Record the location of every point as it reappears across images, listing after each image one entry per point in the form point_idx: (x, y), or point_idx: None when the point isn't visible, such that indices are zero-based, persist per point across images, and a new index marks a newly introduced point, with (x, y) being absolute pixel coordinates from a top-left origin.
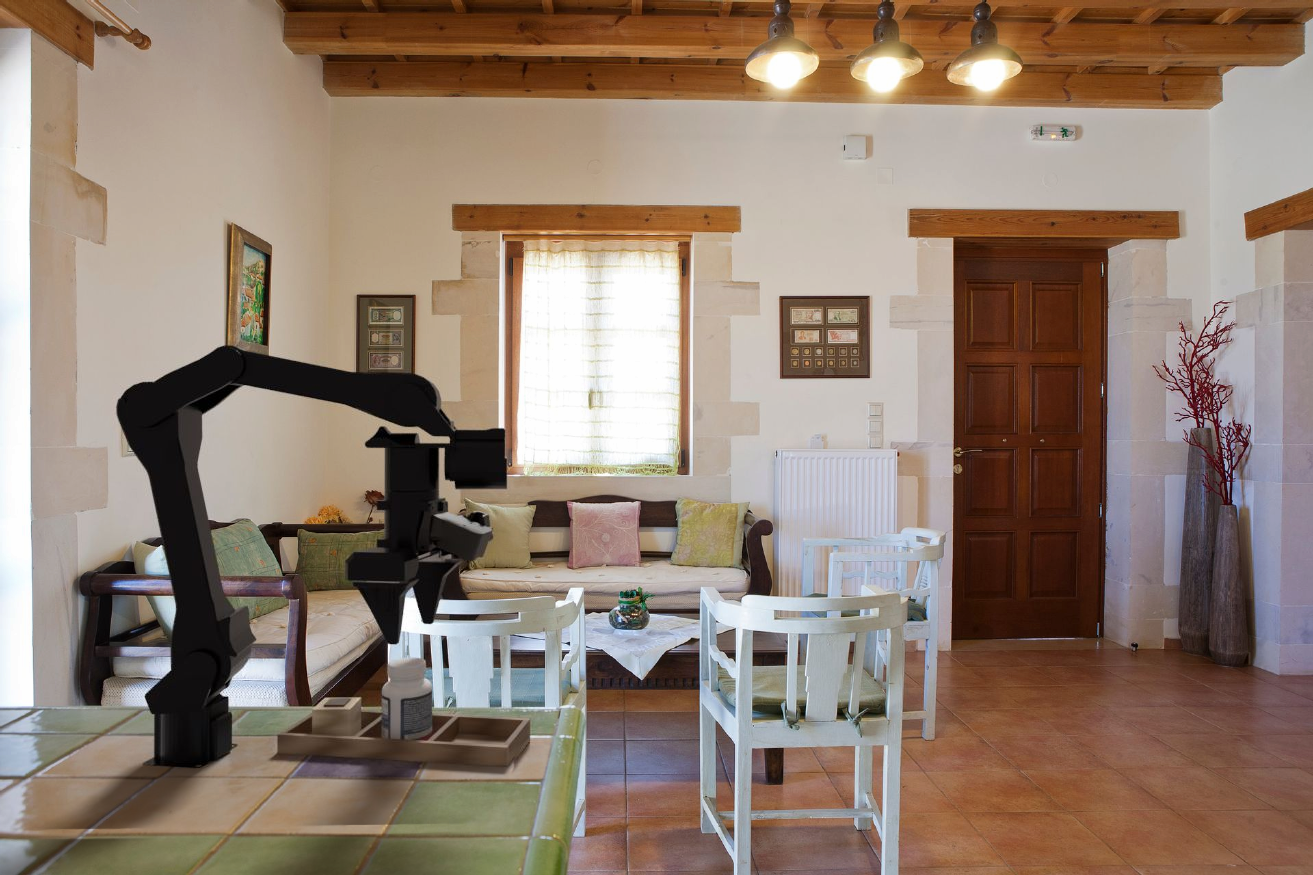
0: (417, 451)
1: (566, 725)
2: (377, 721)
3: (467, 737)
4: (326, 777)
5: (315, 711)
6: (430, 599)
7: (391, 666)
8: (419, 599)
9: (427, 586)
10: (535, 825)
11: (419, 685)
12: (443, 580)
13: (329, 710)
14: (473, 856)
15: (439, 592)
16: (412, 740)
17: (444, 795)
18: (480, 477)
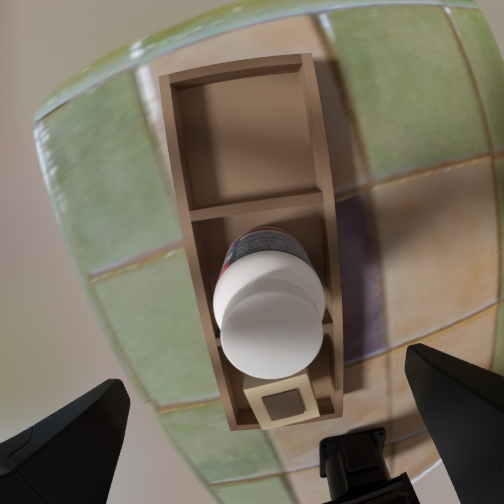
0: None
1: (93, 72)
2: None
3: (207, 181)
4: (383, 310)
5: (318, 410)
6: (86, 442)
7: (316, 353)
8: (106, 470)
9: (70, 489)
10: (424, 2)
11: (288, 271)
12: (4, 458)
13: (313, 397)
14: (490, 52)
15: (48, 435)
16: (330, 228)
17: (401, 123)
18: None
